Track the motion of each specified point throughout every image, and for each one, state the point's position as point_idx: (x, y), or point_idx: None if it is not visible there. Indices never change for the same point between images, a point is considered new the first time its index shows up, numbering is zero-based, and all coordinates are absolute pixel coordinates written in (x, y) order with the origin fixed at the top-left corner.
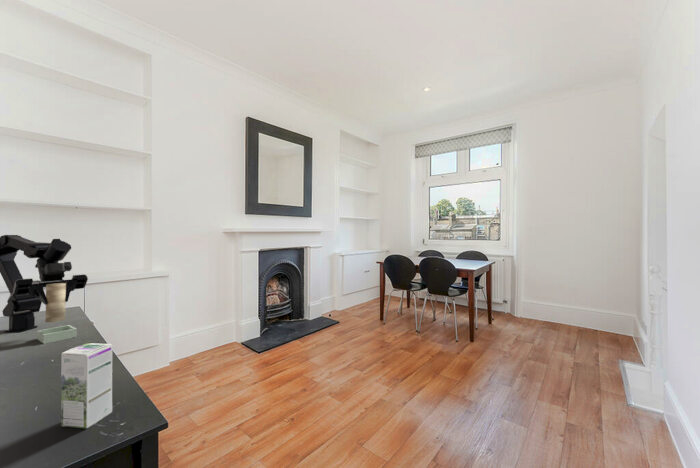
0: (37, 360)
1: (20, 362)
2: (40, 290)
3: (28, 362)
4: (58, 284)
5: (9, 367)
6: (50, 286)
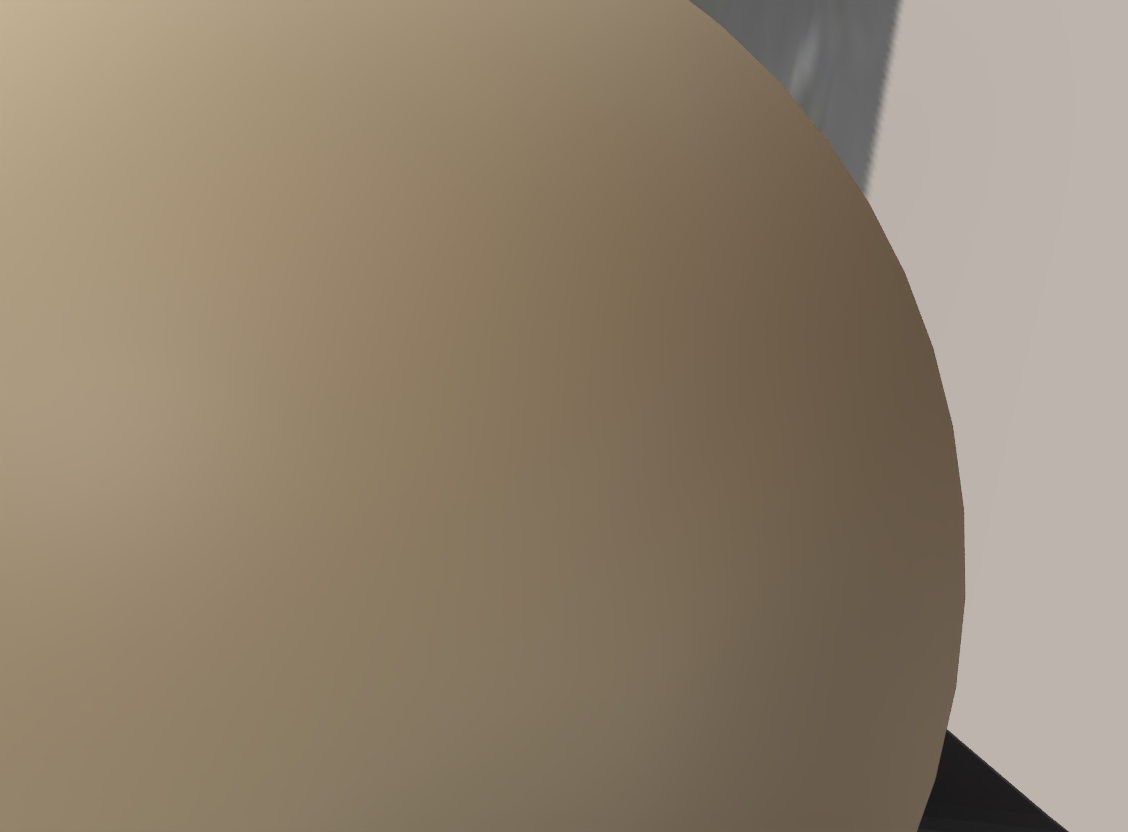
0: (734, 24)
1: (809, 93)
2: (933, 796)
3: (780, 40)
4: (314, 23)
5: (872, 55)
6: (774, 168)
